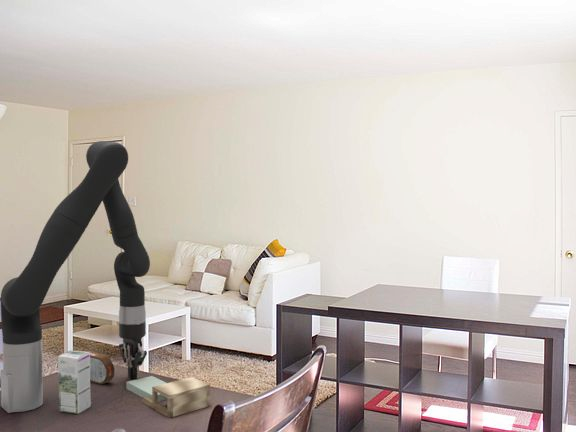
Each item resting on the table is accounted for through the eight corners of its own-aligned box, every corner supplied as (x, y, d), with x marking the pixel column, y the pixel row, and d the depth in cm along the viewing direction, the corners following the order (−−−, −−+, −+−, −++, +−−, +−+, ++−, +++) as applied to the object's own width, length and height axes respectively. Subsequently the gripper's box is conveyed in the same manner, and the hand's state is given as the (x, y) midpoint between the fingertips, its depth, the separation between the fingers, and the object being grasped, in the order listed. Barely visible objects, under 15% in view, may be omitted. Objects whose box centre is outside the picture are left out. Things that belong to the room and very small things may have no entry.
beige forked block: (169, 417, 142) (169, 395, 142) (142, 403, 152) (142, 382, 152) (209, 405, 151) (209, 384, 150) (181, 392, 160) (181, 372, 160)
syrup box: (91, 406, 150) (91, 351, 149) (77, 414, 144) (76, 357, 144) (72, 404, 151) (72, 349, 151) (57, 412, 146) (57, 355, 145)
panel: (153, 405, 152) (153, 395, 152) (126, 390, 163) (126, 381, 163) (179, 398, 158) (179, 388, 158) (151, 384, 169) (151, 375, 169)
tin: (115, 384, 167) (115, 355, 167) (106, 387, 164) (106, 358, 164) (81, 375, 175) (81, 347, 175) (72, 378, 172) (72, 350, 172)
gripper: (109, 318, 170) (110, 376, 171) (131, 326, 161) (131, 387, 161) (133, 314, 175) (133, 371, 176) (155, 322, 166) (155, 381, 167)
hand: (132, 379), depth 169 cm, fingers closed
